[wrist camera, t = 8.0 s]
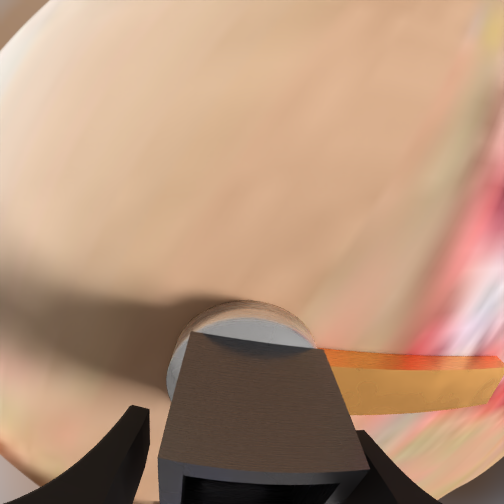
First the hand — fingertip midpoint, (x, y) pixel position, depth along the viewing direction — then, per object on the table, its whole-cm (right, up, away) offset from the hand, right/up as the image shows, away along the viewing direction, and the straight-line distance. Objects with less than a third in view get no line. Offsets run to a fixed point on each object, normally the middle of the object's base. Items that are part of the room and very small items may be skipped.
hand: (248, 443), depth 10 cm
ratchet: (+6, 0, +5) cm, 8 cm away
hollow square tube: (0, +1, +3) cm, 3 cm away
